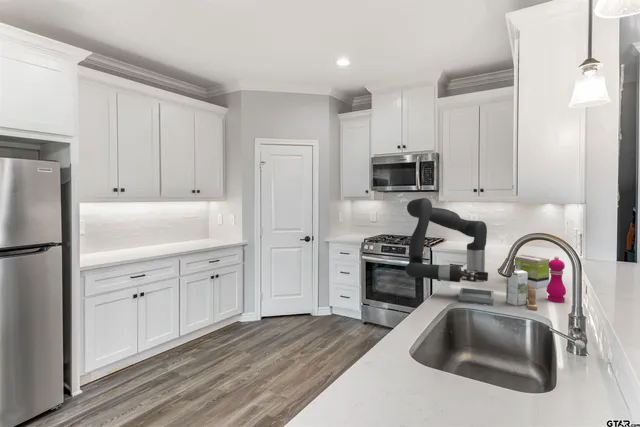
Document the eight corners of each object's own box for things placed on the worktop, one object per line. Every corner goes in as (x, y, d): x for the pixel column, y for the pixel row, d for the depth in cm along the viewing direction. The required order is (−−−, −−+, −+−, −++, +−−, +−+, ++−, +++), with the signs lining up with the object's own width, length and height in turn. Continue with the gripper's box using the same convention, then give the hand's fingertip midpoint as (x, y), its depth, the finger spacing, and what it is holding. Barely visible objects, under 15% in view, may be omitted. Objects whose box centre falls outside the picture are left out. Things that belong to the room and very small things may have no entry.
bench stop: (525, 300, 157) (526, 283, 157) (533, 301, 156) (533, 284, 156) (528, 309, 145) (528, 291, 144) (537, 310, 143) (537, 292, 143)
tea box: (509, 282, 190) (510, 255, 189) (522, 280, 194) (522, 254, 193) (537, 289, 176) (537, 259, 176) (549, 286, 180) (550, 258, 180)
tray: (461, 293, 169) (461, 287, 169) (493, 297, 163) (493, 290, 163) (458, 301, 157) (458, 295, 157) (493, 305, 150) (493, 298, 150)
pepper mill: (559, 298, 160) (560, 254, 159) (569, 303, 153) (570, 257, 152) (543, 298, 160) (543, 254, 160) (551, 302, 153) (552, 257, 152)
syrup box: (515, 301, 157) (515, 268, 156) (527, 304, 151) (527, 271, 150) (505, 302, 155) (506, 269, 154) (517, 306, 149) (517, 272, 148)
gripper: (447, 267, 158) (487, 271, 151) (451, 262, 170) (488, 265, 163) (447, 284, 158) (487, 288, 151) (451, 278, 171) (488, 281, 164)
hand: (487, 276), depth 157 cm, fingers open, 8 cm apart
